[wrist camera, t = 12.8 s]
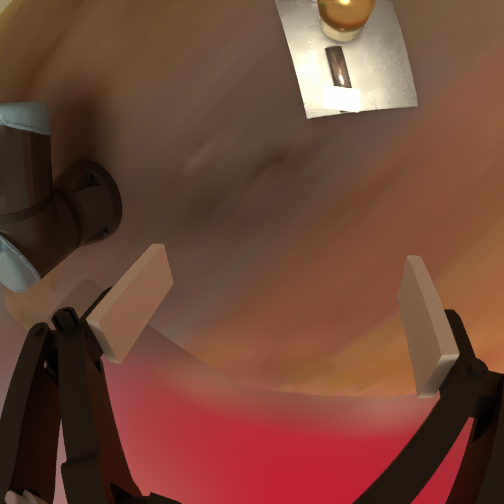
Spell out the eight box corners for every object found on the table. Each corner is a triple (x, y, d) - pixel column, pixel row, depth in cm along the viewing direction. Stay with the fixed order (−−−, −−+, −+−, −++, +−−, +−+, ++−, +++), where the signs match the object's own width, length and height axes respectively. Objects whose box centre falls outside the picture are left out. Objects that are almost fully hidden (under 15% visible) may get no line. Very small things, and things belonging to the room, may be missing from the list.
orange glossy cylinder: (322, 41, 28) (319, 19, 19) (318, 5, 26) (313, -28, 16) (364, 42, 27) (378, 22, 17) (360, 6, 24) (371, -25, 15)
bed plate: (415, 106, 30) (426, 107, 26) (307, 117, 34) (305, 120, 30) (367, -51, 20) (371, -65, 16) (262, -36, 24) (254, -50, 20)
